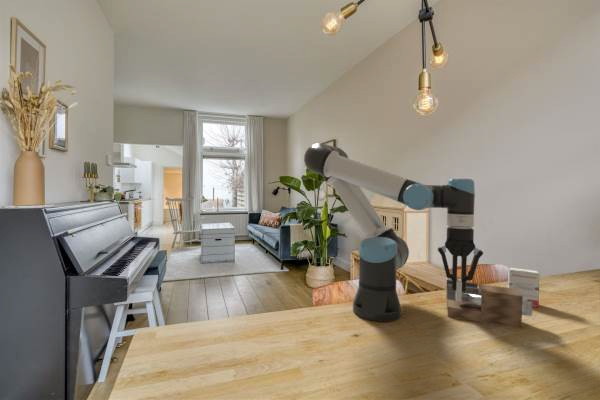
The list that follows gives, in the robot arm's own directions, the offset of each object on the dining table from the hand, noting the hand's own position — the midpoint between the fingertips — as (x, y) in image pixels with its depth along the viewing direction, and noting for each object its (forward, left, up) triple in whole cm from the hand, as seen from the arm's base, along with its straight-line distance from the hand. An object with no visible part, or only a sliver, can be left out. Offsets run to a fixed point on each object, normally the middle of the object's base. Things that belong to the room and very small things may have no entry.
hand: (458, 300), depth 94 cm
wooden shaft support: (+6, 0, -4) cm, 8 cm away
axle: (+10, 0, -1) cm, 10 cm away
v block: (+2, +14, -4) cm, 15 cm away
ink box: (+22, +21, -5) cm, 31 cm away
